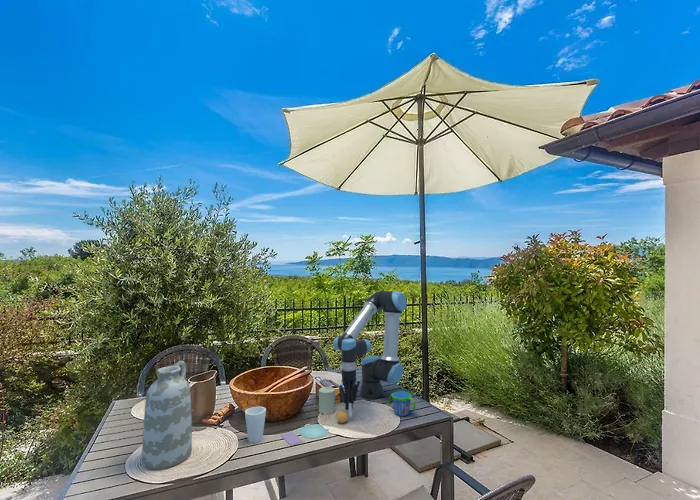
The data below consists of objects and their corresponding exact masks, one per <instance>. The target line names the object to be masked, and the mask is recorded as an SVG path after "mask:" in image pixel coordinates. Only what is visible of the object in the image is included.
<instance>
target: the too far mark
mask: <svg viewBox="0 0 700 500" xmlns="http://www.w3.org/2000/svg"><path fill="white" fill-rule="evenodd" d="M280 436H281V437H282V438H283V439H284V440H285V442H287V444H288V445H289V446H294V445H297V444H300V443H303V442H304V441H303V439H301V438H300V437H299V436H298V435H297V434H296V433H294V432H293V430H291V431H287V432H284V433H281V434H280Z"/></svg>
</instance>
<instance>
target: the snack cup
mask: <svg viewBox="0 0 700 500" xmlns="http://www.w3.org/2000/svg"><path fill="white" fill-rule="evenodd" d="M414 399H415V398H413V396H412V394H411V393H410V392H407V391H403V390H401V391H399V390H398V391H395V392H392V393H391V394H390V395H389V396H388V401H387V402H388V403H387V404H388V406H389V405H391V404H392V405H393V409H394V413H395V415H397V416H399V417H405V416H408V415H409V413H410V408H411V402H412V411H415V410H416V403H415V402H416V401H415V400H414Z"/></svg>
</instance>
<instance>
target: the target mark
mask: <svg viewBox="0 0 700 500" xmlns="http://www.w3.org/2000/svg"><path fill="white" fill-rule="evenodd" d="M322 425H323V424H320V423H318V424H317V423H313V424H309V425H305V426H303V427H302V428H300V430H299V434H300V436H302V437H304V438H306V439H319V438H322V437H325V436H327V435H328V433H329V428H328V429H325V428H324V427H323V426H322Z"/></svg>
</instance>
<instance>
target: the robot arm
mask: <svg viewBox="0 0 700 500" xmlns="http://www.w3.org/2000/svg"><path fill="white" fill-rule="evenodd" d="M406 309H407V298H406V296H405V294H404V292H402V291H396V290H395V291H394V290H378V291H376V292H374V293H373V294H371V295H370V296H368V298H367V299H366V300H365V301H364V302H363V307H362V309H360V310H359V312H358V313H357V315H356V316H355V318H354V319H353V320H352V322H351V323H350V324H349V325H348V327H347V328H346V330H345V331H344V332H343V334H342V335H341V336H336V337H335V338H334V339H333V343H332V344H333V348H334V349H335V350H338V351H340V352H341V378H342V379H341V383H339V384H337V388H338V390H339V394H340V400H341V402H342V403H343V404H344V407H345V408H344V409H345V412H346V413H347V415H348V418H351V417H352V415H353V413H352V411H353V410H352V409H353V407H354V406H353V405H354V403H355V402H357V397H358V394H359V396H360V397H362V398H365V399H371V400H373V399H379V398H382V397H384V394H385V393H384V388H383V385H382V382H385V383H386V382H387V383H388V384H397V383H399V382H400V380H401V379H402V377H403V374H404V367H403V365H402V363H400V358H399V357H398V354H399V353H398V349H399V334H400V333H399V331H400V317H401V316H402V315H403V311H405V310H406ZM379 310H383V311H382V313H383V314H384V315H385V318H384V333H383V334H384V335H383V348H382V349H383V350H382V351H383V353H382V355H381V356H379V355H370V356H365V357H364V356H363V358H362V359H361V381H359V380H357V378H356V377H357V370H356V369H357V356H358V357H359V356H361V355H366V354H368V353H370V352H371V350H372V343H371V341H370V340H369V339H366V338H365V339H364V338H363V339H357V338H358V336H359V335H360V334H361V332H362V331H363V330H364V328H365V326H366V325H367V324H368V322H369V321H370V319H371V317H373V315H374V314H376V313H377V312H378V311H379ZM359 387H360V388H359ZM358 390H359V393H358Z"/></svg>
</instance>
